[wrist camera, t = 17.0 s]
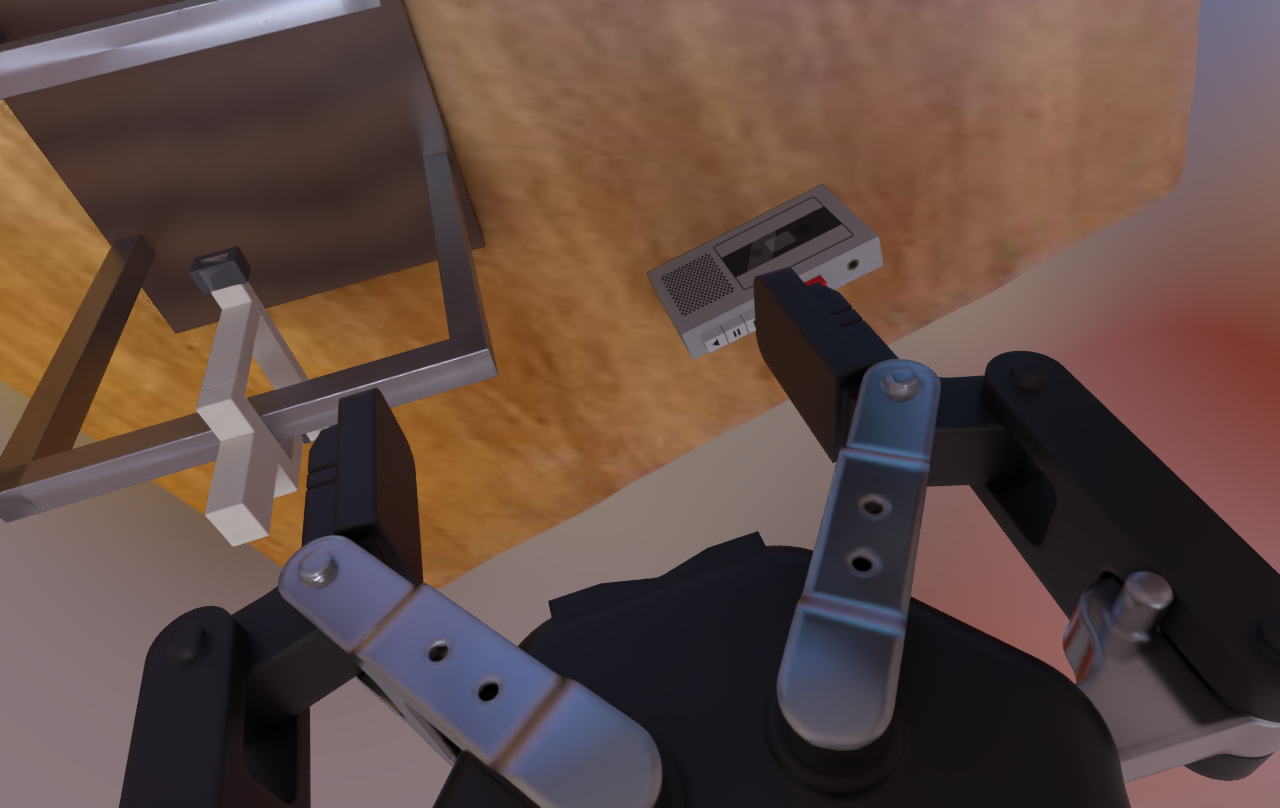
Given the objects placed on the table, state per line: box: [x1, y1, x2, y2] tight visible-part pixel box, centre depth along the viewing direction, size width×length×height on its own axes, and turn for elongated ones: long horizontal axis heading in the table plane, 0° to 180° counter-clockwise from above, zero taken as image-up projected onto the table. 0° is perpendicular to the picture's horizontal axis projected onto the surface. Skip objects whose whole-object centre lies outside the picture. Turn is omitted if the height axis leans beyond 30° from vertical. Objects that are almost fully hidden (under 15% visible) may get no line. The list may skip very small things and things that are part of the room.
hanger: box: [189, 246, 337, 546], centre depth 33 cm, size 11×2×13 cm, turn 9°
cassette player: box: [647, 184, 883, 360], centre depth 57 cm, size 16×3×10 cm, turn 112°
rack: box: [0, 0, 498, 523], centre depth 36 cm, size 26×22×24 cm
